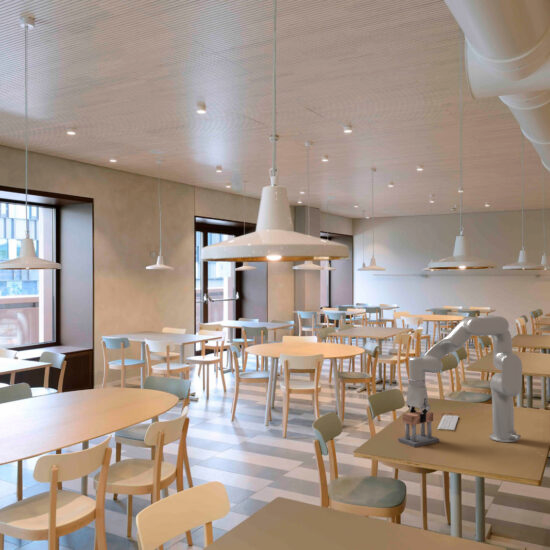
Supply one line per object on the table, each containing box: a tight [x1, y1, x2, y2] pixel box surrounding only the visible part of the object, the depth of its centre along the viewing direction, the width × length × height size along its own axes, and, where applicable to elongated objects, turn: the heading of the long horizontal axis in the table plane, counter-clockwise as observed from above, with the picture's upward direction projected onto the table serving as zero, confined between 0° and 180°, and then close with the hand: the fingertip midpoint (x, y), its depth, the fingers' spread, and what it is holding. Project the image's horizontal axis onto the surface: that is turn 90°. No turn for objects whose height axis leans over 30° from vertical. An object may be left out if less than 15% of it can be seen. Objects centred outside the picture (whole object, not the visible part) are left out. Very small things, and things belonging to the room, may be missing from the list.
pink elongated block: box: [402, 410, 434, 426], centre depth 263 cm, size 14×6×4 cm, turn 119°
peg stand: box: [397, 421, 440, 448], centre depth 263 cm, size 11×16×10 cm
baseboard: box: [436, 412, 460, 432], centre depth 296 cm, size 30×3×10 cm
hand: (418, 420), depth 263 cm, fingers closed on pink elongated block, 6 cm apart
